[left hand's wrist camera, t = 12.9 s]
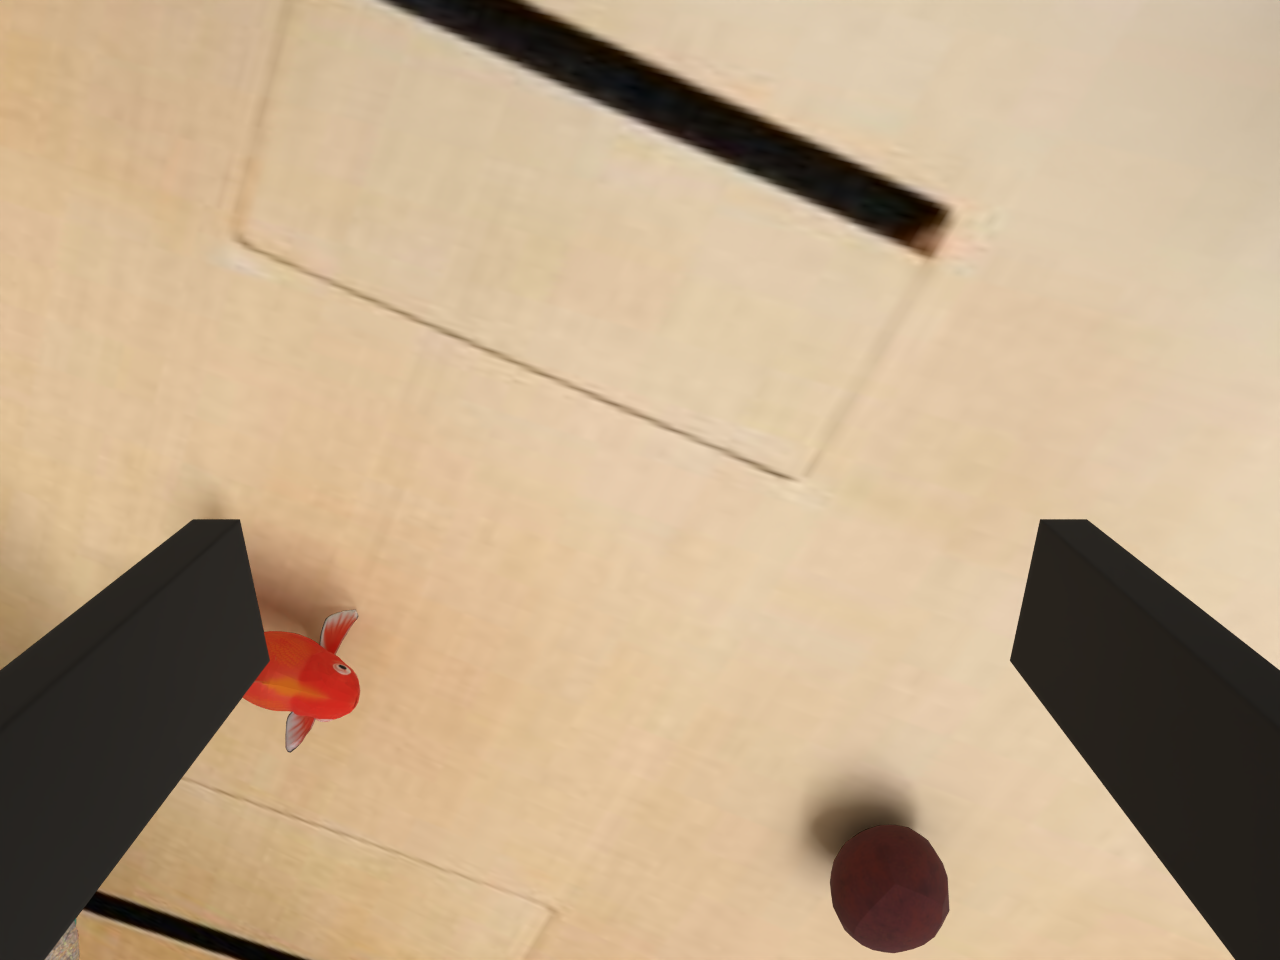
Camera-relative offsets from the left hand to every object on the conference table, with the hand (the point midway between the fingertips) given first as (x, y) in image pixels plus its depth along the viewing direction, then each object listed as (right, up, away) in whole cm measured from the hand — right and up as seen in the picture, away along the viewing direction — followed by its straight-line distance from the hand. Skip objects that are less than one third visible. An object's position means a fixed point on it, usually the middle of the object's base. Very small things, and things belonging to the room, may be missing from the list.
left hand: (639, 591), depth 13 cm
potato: (+16, -23, +40) cm, 49 cm away
